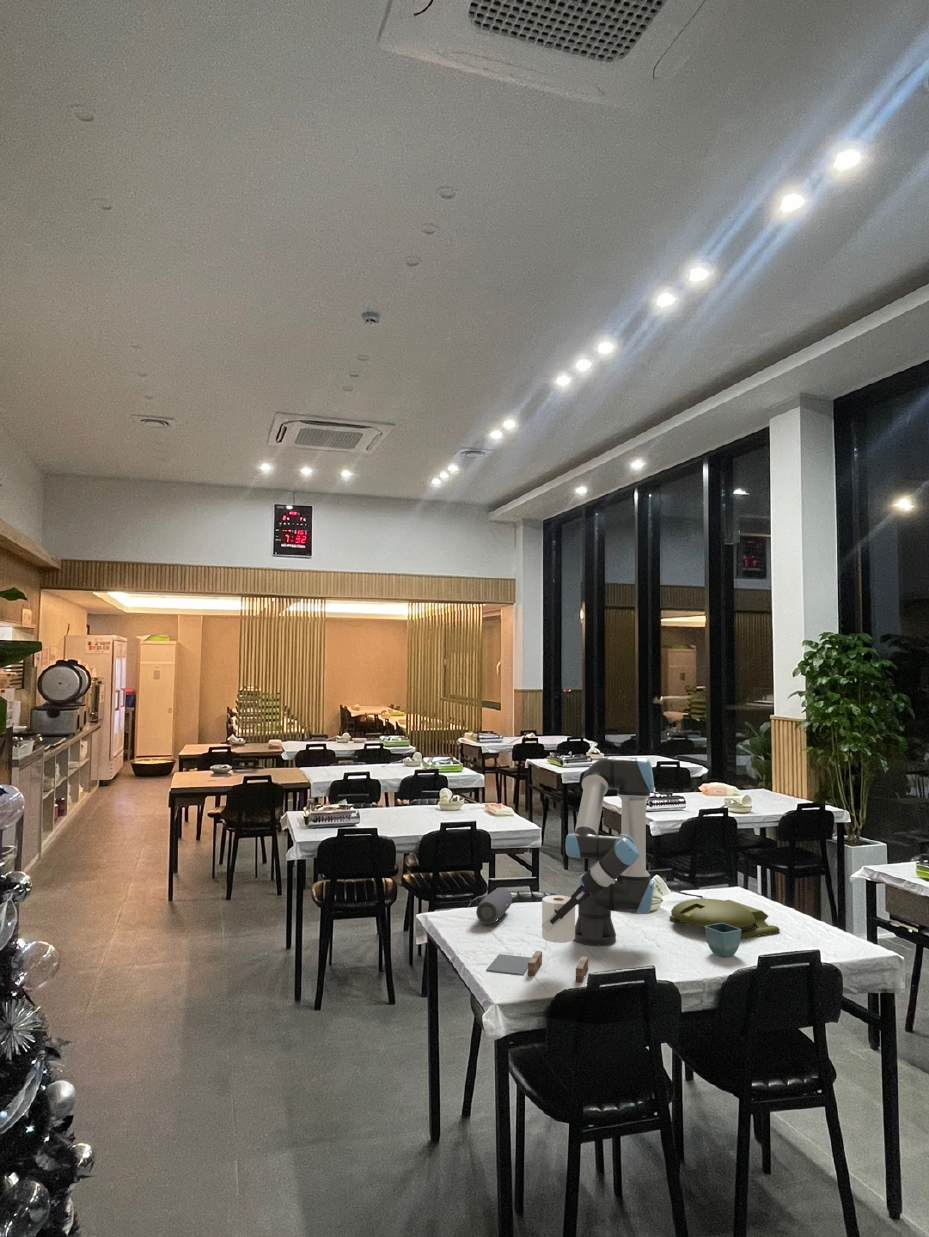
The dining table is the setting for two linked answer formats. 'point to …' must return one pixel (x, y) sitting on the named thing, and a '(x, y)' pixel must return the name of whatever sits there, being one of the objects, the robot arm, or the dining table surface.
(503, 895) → the bluetooth speaker
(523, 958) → the mat
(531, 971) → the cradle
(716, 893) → the dining table surface
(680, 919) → the spaceship
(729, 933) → the flower pot
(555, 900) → the toilet paper
